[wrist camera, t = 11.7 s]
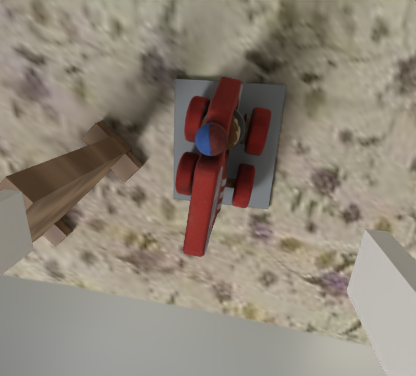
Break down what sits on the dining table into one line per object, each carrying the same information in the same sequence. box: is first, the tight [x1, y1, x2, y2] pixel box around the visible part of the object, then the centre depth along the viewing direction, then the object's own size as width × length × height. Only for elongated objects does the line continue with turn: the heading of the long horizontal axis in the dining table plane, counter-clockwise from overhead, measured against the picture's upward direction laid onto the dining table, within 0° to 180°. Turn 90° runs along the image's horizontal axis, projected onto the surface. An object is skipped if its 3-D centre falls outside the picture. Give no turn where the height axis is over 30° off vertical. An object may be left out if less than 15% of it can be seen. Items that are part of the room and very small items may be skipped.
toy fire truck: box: [175, 77, 271, 257], centre depth 22 cm, size 7×12×10 cm, turn 170°
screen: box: [0, 121, 143, 246], centre depth 25 cm, size 16×6×14 cm, turn 132°
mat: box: [174, 79, 286, 209], centre depth 27 cm, size 12×10×1 cm
